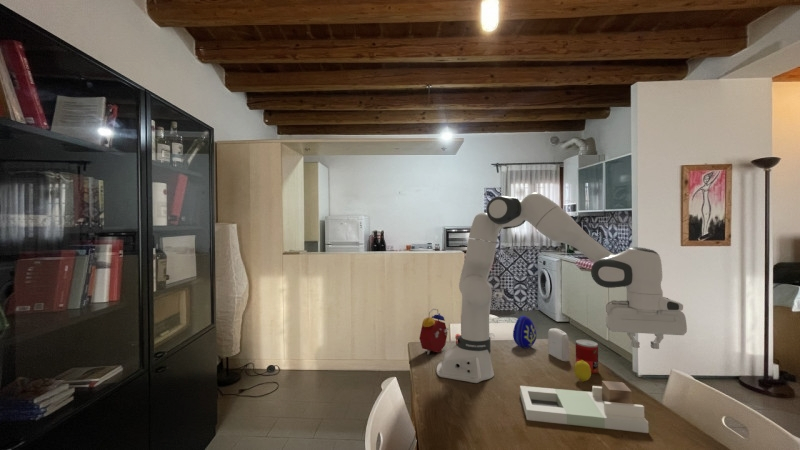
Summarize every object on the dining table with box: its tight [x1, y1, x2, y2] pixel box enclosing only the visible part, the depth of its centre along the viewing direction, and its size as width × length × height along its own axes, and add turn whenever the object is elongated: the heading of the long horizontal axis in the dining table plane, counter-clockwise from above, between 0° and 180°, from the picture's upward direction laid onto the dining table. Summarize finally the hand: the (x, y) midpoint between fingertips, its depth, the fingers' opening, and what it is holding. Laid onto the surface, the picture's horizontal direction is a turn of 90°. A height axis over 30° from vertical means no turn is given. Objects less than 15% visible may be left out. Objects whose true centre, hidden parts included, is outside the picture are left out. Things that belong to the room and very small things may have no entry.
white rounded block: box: [547, 327, 570, 362], centre depth 150 cm, size 10×4×12 cm, turn 13°
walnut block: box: [601, 380, 633, 404], centre depth 103 cm, size 6×6×6 cm
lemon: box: [573, 360, 592, 383], centre depth 126 cm, size 6×6×8 cm
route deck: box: [519, 385, 650, 434], centre depth 105 cm, size 32×16×6 cm, turn 77°
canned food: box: [575, 339, 599, 374], centre depth 137 cm, size 8×8×11 cm
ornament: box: [512, 315, 537, 349], centre depth 164 cm, size 11×9×15 cm
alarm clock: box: [419, 308, 450, 355], centre depth 158 cm, size 15×9×20 cm, turn 141°
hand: (645, 347), depth 102 cm, fingers open, 4 cm apart
